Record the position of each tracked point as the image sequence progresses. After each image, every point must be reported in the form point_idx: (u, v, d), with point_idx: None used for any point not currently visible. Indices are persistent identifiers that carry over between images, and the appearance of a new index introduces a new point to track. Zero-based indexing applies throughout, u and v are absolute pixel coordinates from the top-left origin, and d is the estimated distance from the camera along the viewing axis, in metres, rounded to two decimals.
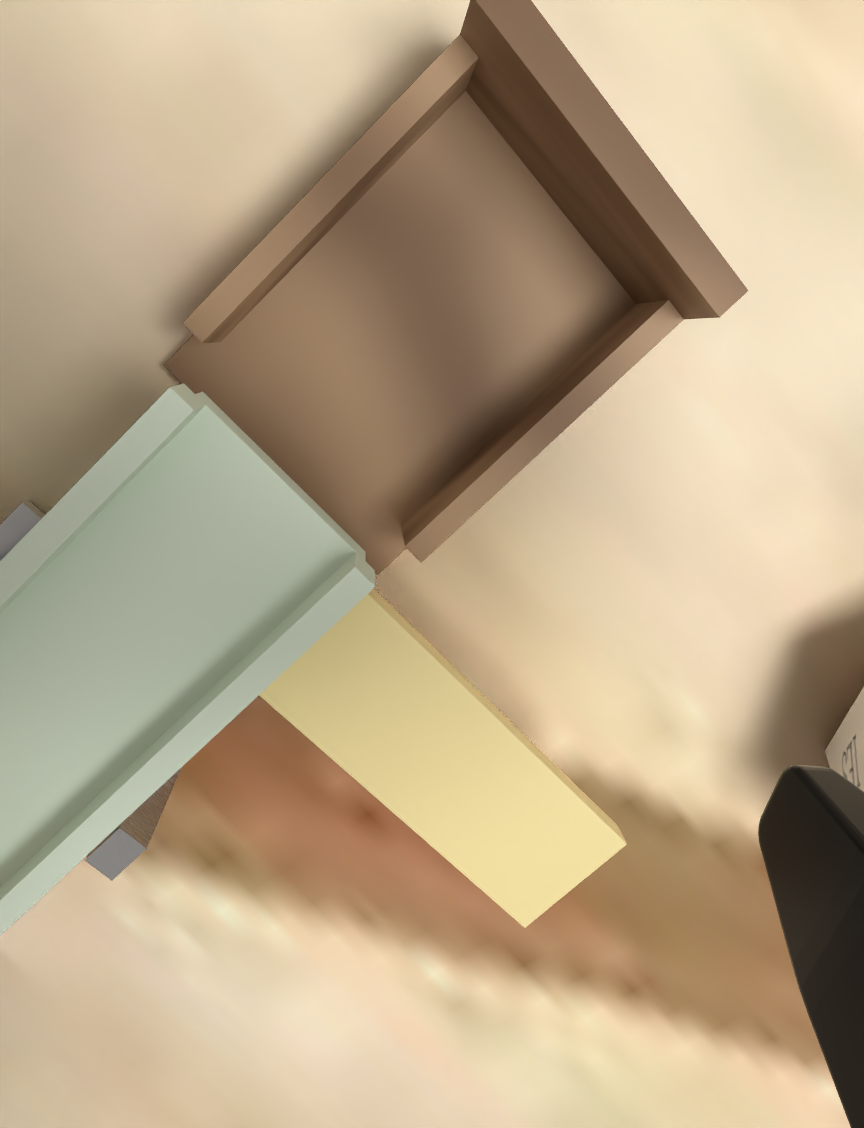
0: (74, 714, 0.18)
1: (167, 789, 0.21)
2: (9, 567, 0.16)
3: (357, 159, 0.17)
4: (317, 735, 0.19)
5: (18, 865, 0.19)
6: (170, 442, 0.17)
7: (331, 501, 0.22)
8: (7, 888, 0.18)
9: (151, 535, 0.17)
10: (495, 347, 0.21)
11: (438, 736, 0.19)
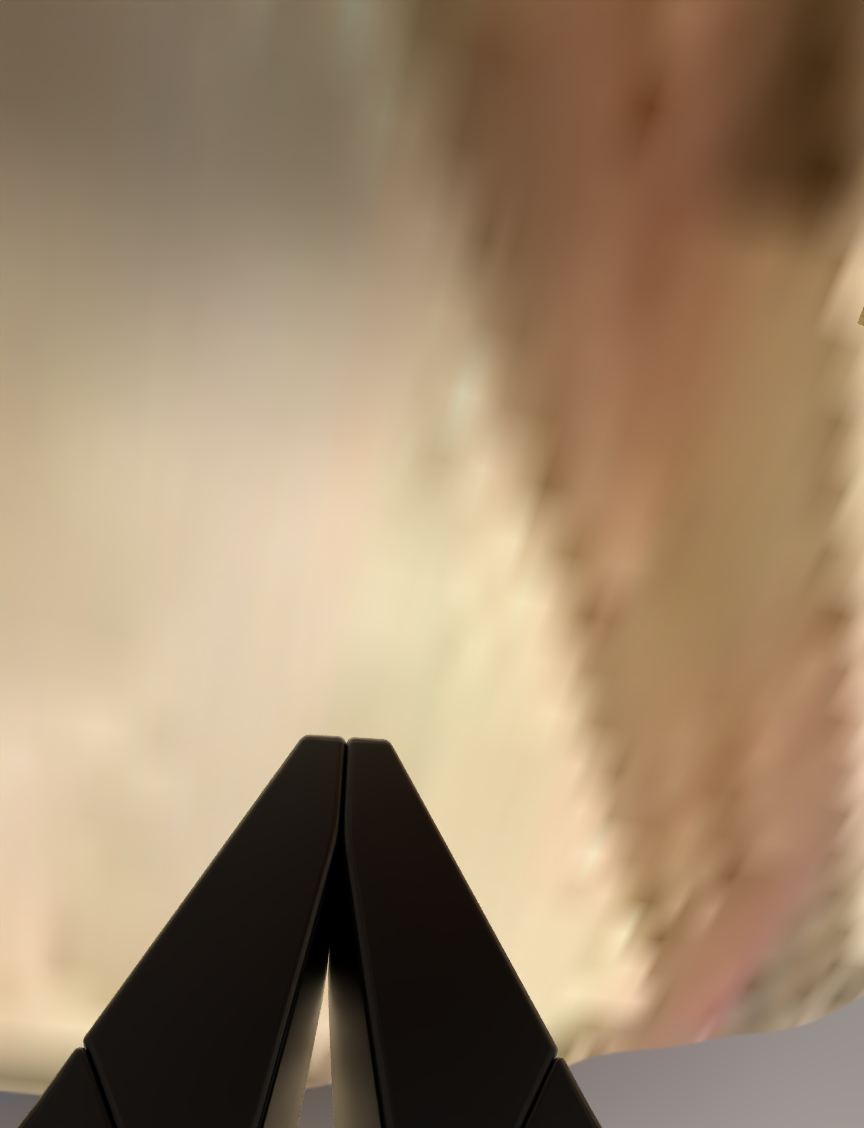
0: None
1: None
2: None
3: None
4: None
5: None
6: None
7: None
8: None
9: None
10: None
11: None
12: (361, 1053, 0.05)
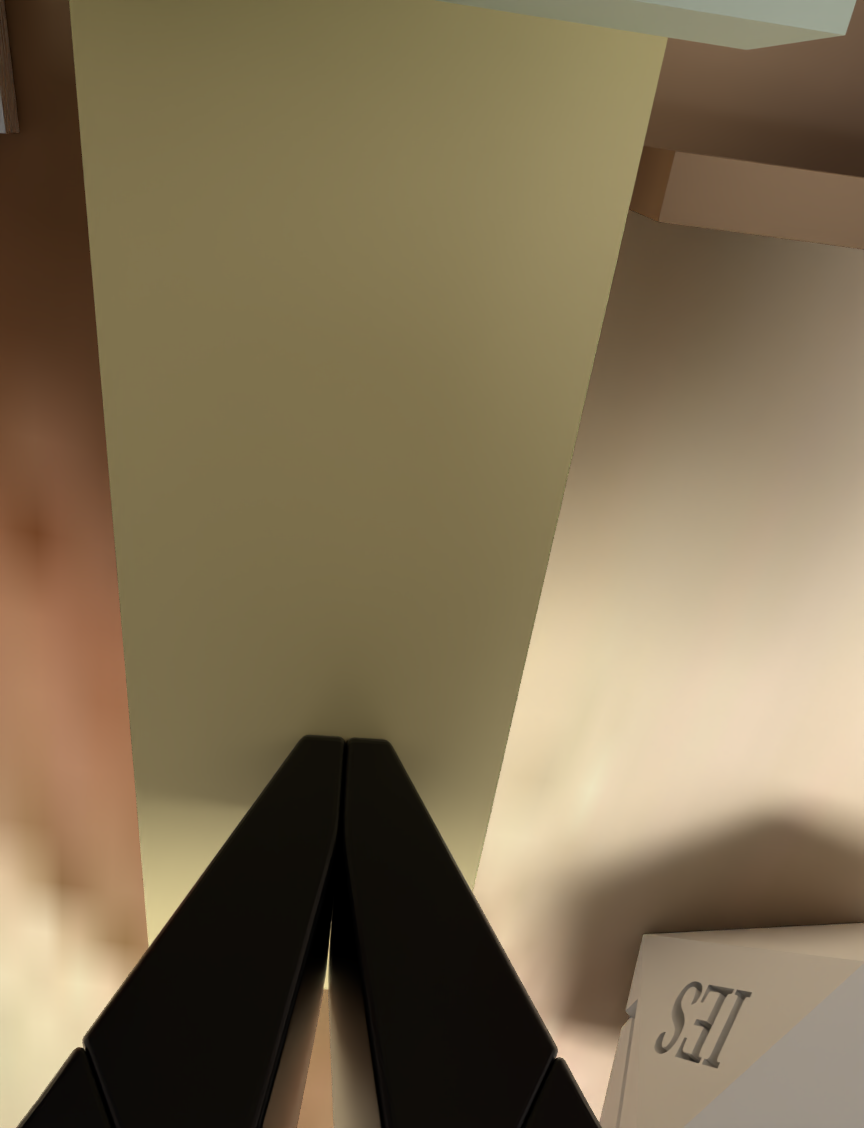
0: None
1: None
2: None
3: None
4: (125, 306, 0.05)
5: None
6: None
7: None
8: None
9: None
10: None
11: (386, 586, 0.07)
12: (361, 1053, 0.05)
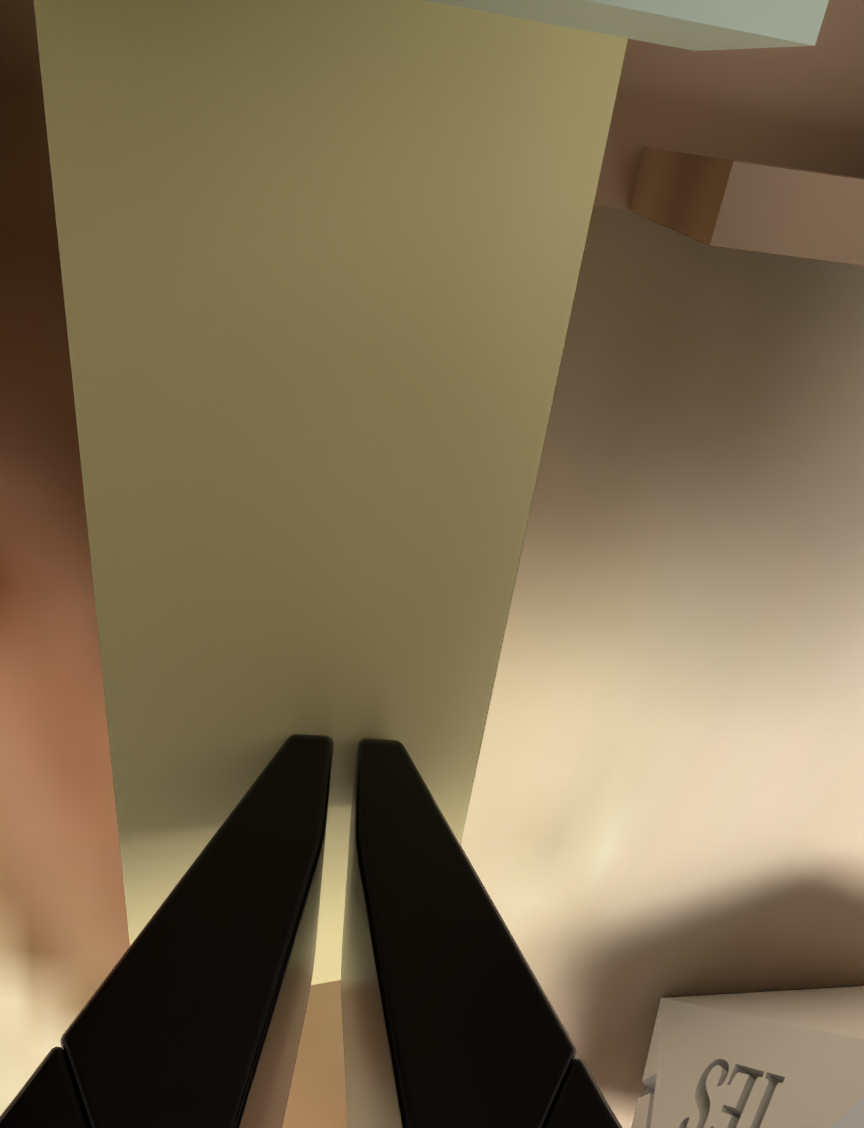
0: None
1: None
2: None
3: None
4: (100, 316, 0.05)
5: None
6: None
7: None
8: None
9: None
10: None
11: (373, 578, 0.07)
12: (379, 1054, 0.05)
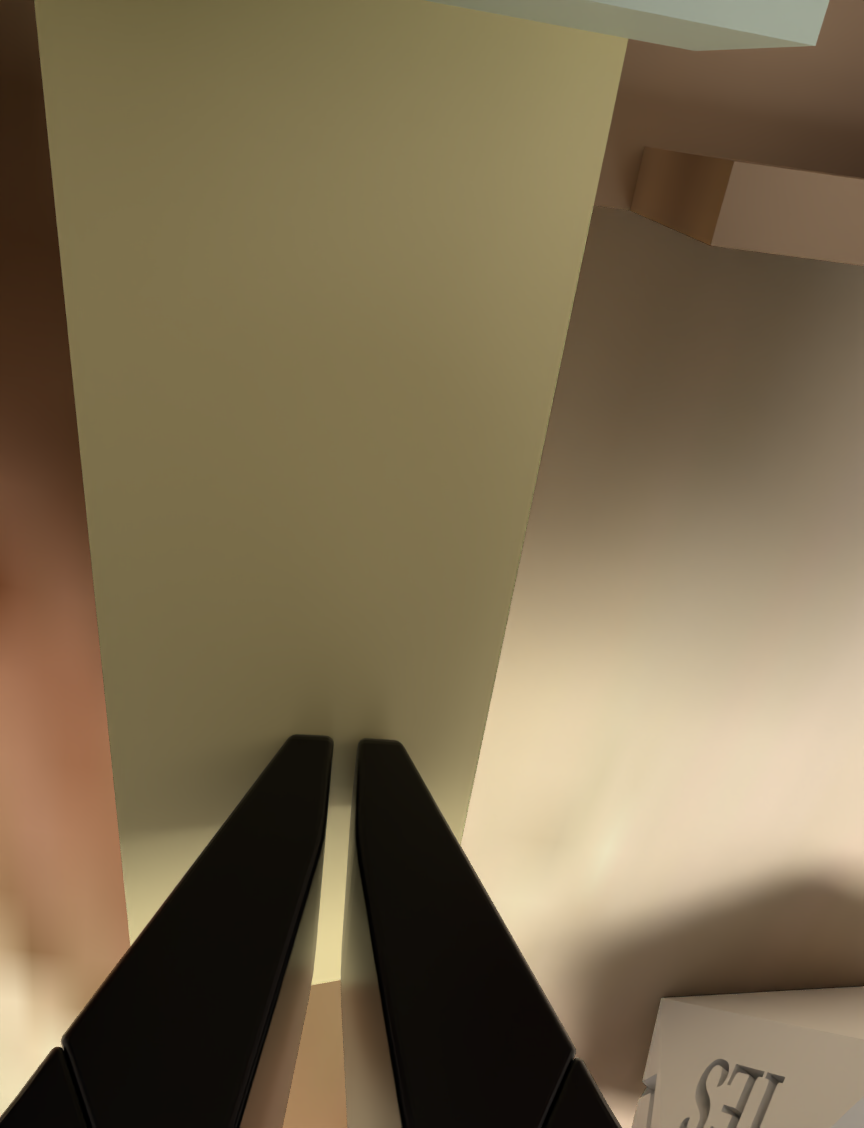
0: None
1: None
2: None
3: None
4: (100, 316, 0.05)
5: None
6: None
7: None
8: None
9: None
10: None
11: (373, 578, 0.07)
12: (379, 1054, 0.05)
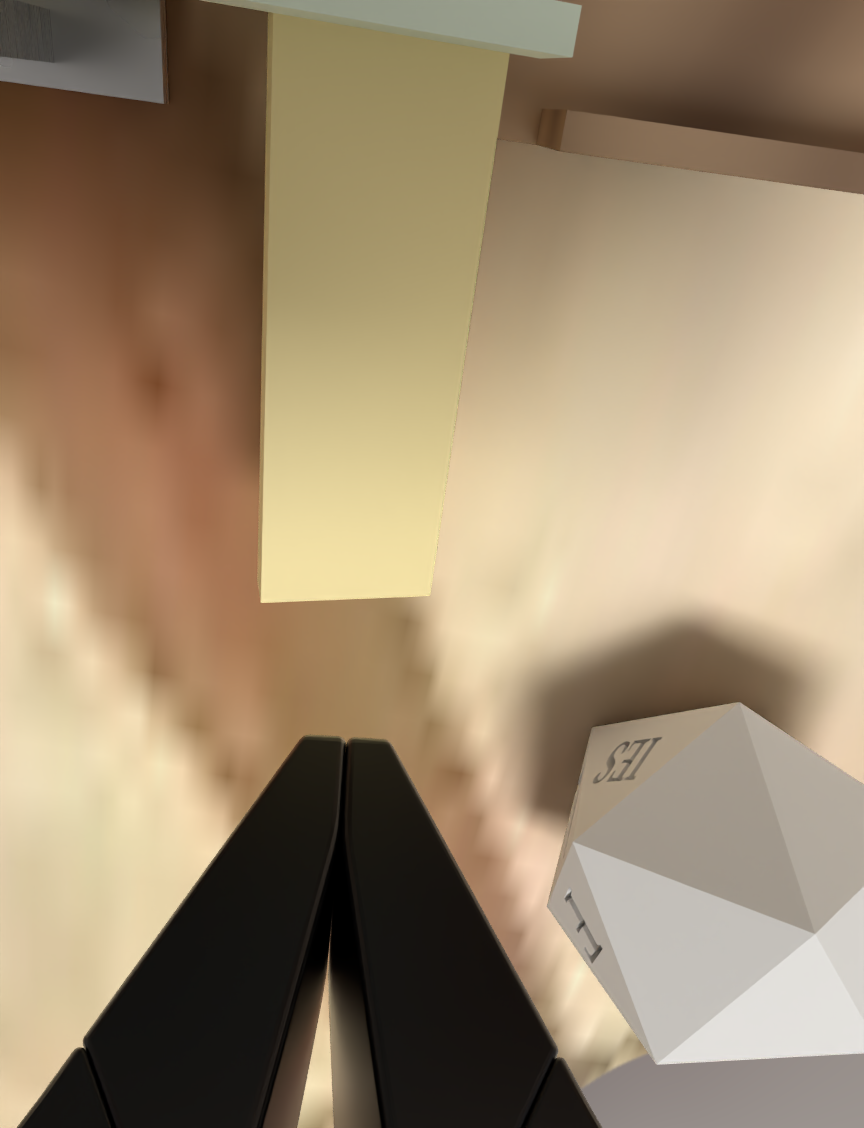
0: None
1: None
2: None
3: None
4: (283, 172, 0.12)
5: None
6: None
7: None
8: None
9: None
10: (838, 39, 0.14)
11: (397, 319, 0.14)
12: (361, 1053, 0.05)
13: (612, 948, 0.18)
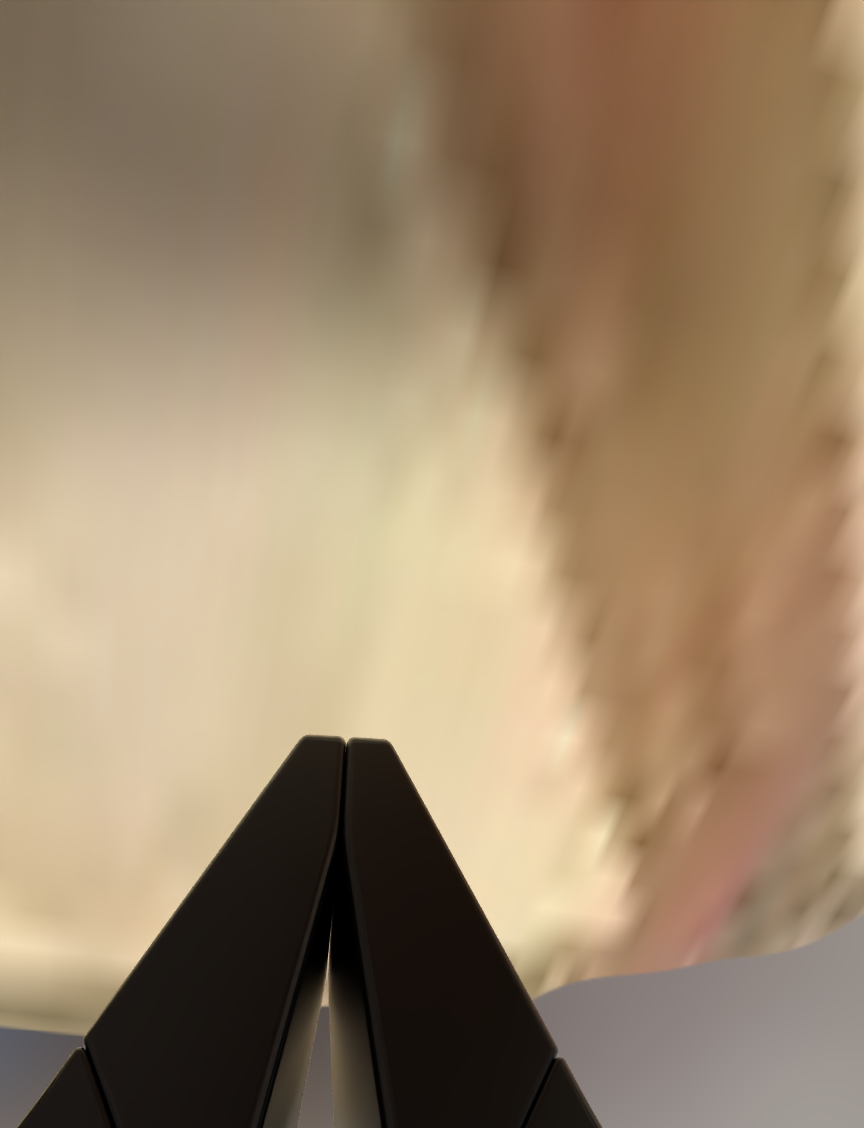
0: None
1: None
2: None
3: None
4: None
5: None
6: None
7: None
8: None
9: None
10: None
11: None
12: (361, 1053, 0.05)
13: None
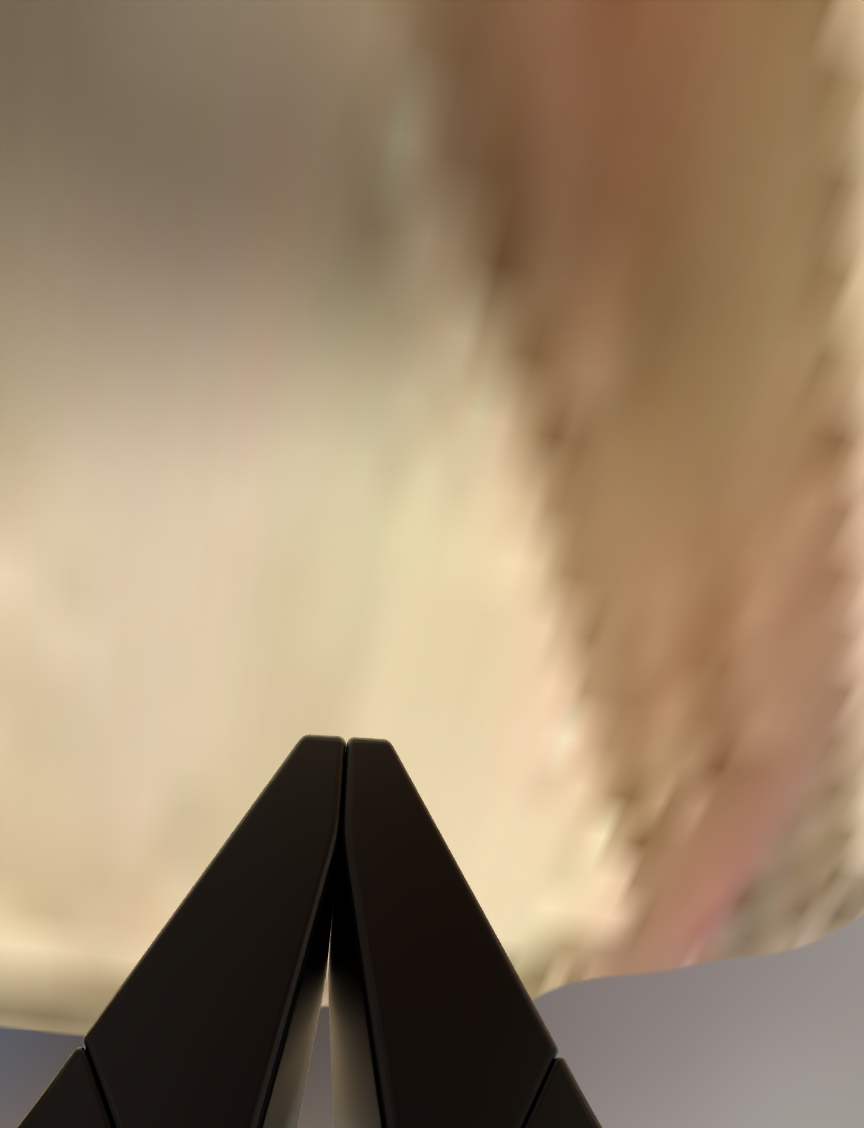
0: None
1: None
2: None
3: None
4: None
5: None
6: None
7: None
8: None
9: None
10: None
11: None
12: (361, 1053, 0.05)
13: None
